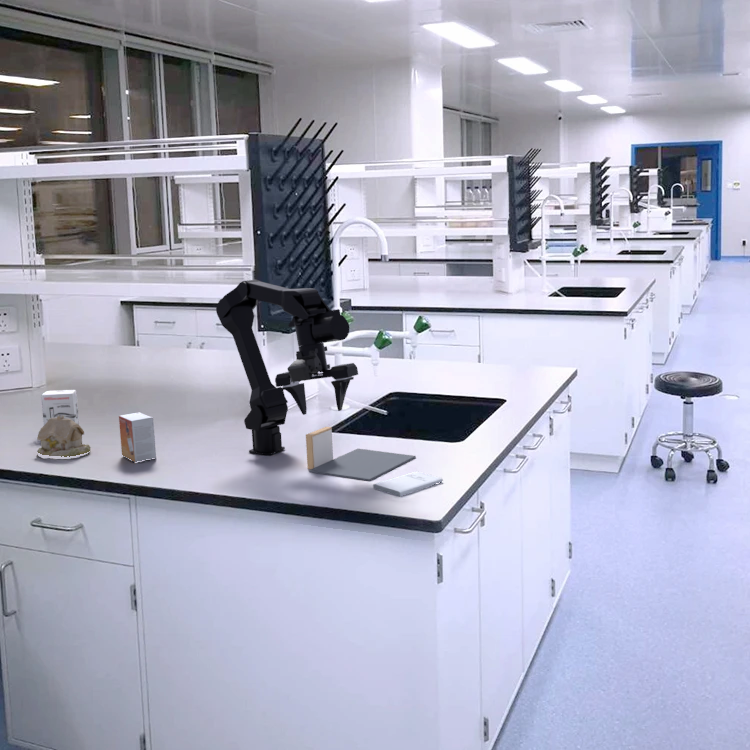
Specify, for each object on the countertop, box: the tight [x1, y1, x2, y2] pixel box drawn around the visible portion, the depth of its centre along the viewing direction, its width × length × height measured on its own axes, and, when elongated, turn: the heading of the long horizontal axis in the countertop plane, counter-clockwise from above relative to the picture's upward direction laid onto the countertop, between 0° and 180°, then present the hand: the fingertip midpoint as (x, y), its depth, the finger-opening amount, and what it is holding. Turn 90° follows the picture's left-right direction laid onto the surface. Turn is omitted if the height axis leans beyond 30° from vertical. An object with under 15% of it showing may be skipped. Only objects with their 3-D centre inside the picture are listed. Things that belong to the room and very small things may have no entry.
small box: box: [118, 411, 157, 462], centre depth 216 cm, size 8×6×10 cm
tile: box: [305, 426, 334, 470], centre depth 204 cm, size 2×8×8 cm, turn 148°
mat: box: [308, 448, 417, 482], centre depth 204 cm, size 16×20×1 cm
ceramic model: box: [36, 415, 92, 457], centre depth 223 cm, size 14×11×10 cm
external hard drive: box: [372, 470, 444, 497], centre depth 187 cm, size 2×8×12 cm
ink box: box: [40, 389, 80, 426], centre depth 244 cm, size 9×5×12 cm, turn 95°
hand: (322, 412), depth 203 cm, fingers open, 9 cm apart
